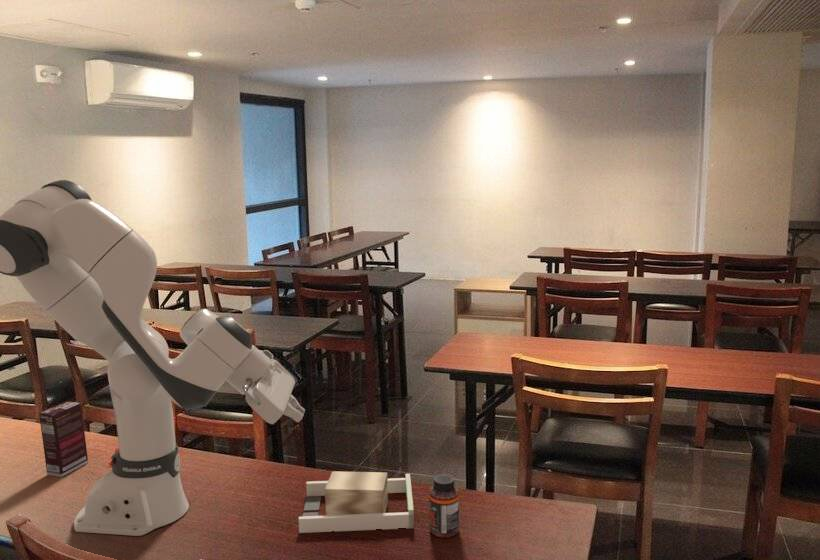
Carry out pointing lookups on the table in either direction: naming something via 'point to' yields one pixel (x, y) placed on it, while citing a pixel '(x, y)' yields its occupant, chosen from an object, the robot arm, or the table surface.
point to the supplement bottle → (444, 507)
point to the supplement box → (63, 438)
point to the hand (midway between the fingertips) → (301, 416)
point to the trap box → (355, 521)
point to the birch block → (356, 493)
